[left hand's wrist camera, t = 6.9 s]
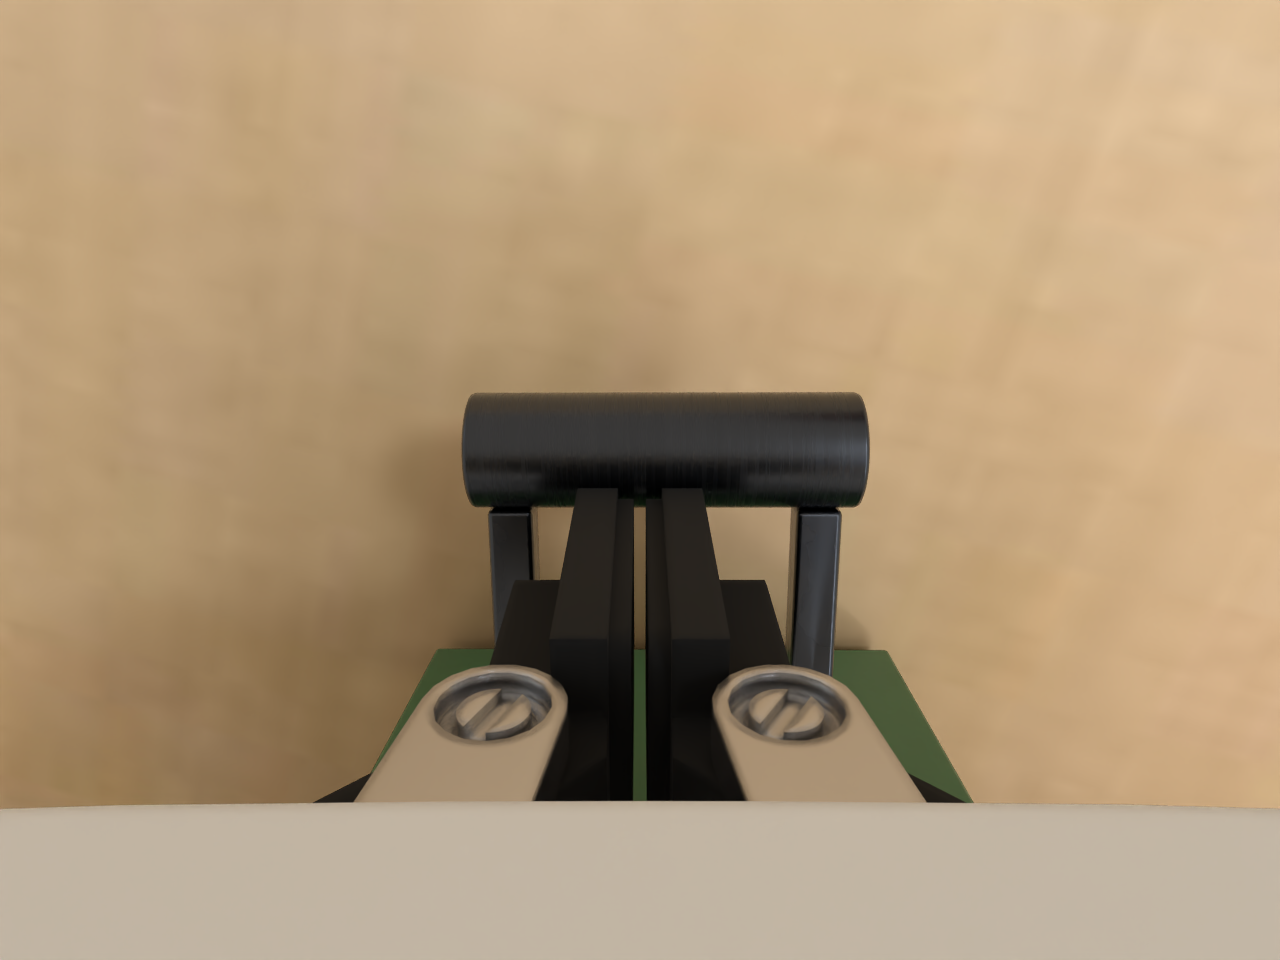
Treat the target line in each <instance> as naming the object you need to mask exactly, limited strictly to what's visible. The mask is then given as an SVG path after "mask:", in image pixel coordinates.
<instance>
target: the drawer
mask: <svg viewBox="0 0 1280 960" xmlns="http://www.w3.org/2000/svg"><path fill="white" fill-rule="evenodd" d="M869 459H870V437H869V425H868V418H867V412H866V408H865V405H864V402H863V400H862V398H861V396H860V395H859V394H857V393H854V392H793V393H475V394H473V395H471V396H470V398H469V399H468V402H467V405H466V409H465V413H464V419H463V428H462V469H463V478H464V485H465V489H466V493H467V496H468V499H469V501H470V503H471V505H473V506H475V507H492V508H491V510H490V511H489V514H488V526H489V545H490V565H491V585H492V605H493V625H494V644H496V641H497V638H498V634H499V631H500V627H501V624H502V621H503V617H504V614H505V610H506V607H507V604H508V600H509V597H510V594H511V590H512V587H513V584H514V582H515V580H540V570H539V542H538V514H537V507H574V504H575V499H576V494H577V489H578V488H618V499H634V507H646V499H661V497H662V488H702V490H703V496H704V501H705V506H706V507H791V527H790V551H789V575H788V599H787V624H786V648H785V649H786V652H787V656H788V659H789V662H790V665H791V666H797V667H803V668H809V669H812V670H815V671H817V672H820V673H823V674H826V675H829V676H831V677H832V678H834V679H835V680H837V681H839V682H840V683H842V684H844V685H845V686H847V687H848V688H849V690H850V691H851V692H852V693H853V694H854V695H855V696H856V697H857V698H858V699H859V701H860V702H861V704H862V705H863V707H864V708H865V710H866V711H867V713H868V714H869V716H870V718H871V719H872V721H873V722H874V724H875V725H876V727H877V728H878V730H879V731H880V733H881V734H882V736H883V737H884V739H885V740H886V742H887V743H888V745H889V746H890V748H891V749H892V751H893V752H894V754H895V755H896V757H897V758H898V760H899V761H900V763H901V764H902V766H903V767H904V769H905V770H906V772H907V773H909V774H911V775H913V776H915V777H917V778H919V779H921V780H923V781H925V782H927V783H929V784H931V785H933V786H935V787H937V788H939V789H941V790H943V791H945V792H947V793H949V794H950V795H952V796H954V797H956V798H958V799H960V800H962V801H964V802H966V803H973V801H972V799H971V797H970V796H969V794H968V792H967V790H966V789H965V787H964V785H963V783H962V782H961V780H960V778H959V776H958V775H957V773H956V771H955V769H954V768H953V766H952V764H951V762H950V761H949V759H948V757H947V755H946V754H945V752H944V750H943V748H942V747H941V745H940V743H939V741H938V740H937V738H936V736H935V734H934V732H933V731H932V729H931V727H930V725H929V724H928V722H927V720H926V718H925V717H924V715H923V713H922V711H921V710H920V708H919V706H918V704H917V703H916V701H915V699H914V697H913V696H912V694H911V692H910V690H909V689H908V687H907V685H906V683H905V682H904V680H903V678H902V676H901V675H900V673H899V671H898V669H897V668H896V666H895V664H894V662H893V661H892V659H891V657H890V655H889V654H888V652H887V651H885V650H834V645H835V627H836V610H837V592H838V574H839V557H840V539H841V522H842V514H841V512H840V510H839V509H838V507H856V506H858V505H859V504H860V503H861V501H862V498H863V496H864V493H865V489H866V485H867V479H868V472H869ZM493 651H494V649H438V650H437V651H436V652H435V654H434V656H433V658H432V660H431V662H430V664H429V665H428V667H427V669H426V671H425V673H424V675H423V677H422V678H421V680H420V682H419V684H418V686H417V688H416V690H415V691H414V693H413V695H412V697H411V699H410V701H409V703H408V704H407V706H406V708H405V710H404V712H403V714H402V716H401V718H400V719H399V721H398V723H397V725H396V727H395V729H394V731H393V732H392V734H391V736H390V738H389V740H388V742H387V744H386V745H385V747H384V749H383V751H382V753H381V755H380V757H379V758H378V760H377V762H376V764H375V766H374V768H373V770H372V771H371V773H372V772H374V770H375V769H376V767H377V766H378V764H379V763H380V761H381V760H382V758H383V757H384V755H385V754H386V752H387V751H388V749H389V748H390V746H391V745H392V743H393V742H394V740H395V739H396V737H397V736H398V734H399V733H400V731H401V730H402V728H403V727H404V725H405V724H406V722H407V721H408V719H409V718H410V716H411V714H412V713H413V711H414V710H415V708H416V707H417V705H418V704H419V702H420V701H421V699H422V698H423V697H424V696H425V695H426V694H427V693H428V692H429V691H430V690H431V688H432V687H433V686H435V685H436V684H438V683H440V682H441V681H443V680H445V679H446V678H448V677H449V676H451V675H454V674H457V673H460V672H463V671H465V670H468V669H471V668H477V667H483V666H489V665H490V661H491V658H492V654H493ZM645 652H646V649H634V760H633V801H647V788H646V697H645Z"/></svg>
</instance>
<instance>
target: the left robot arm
mask: <svg viewBox="0 0 1280 960" xmlns="http://www.w3.org/2000/svg"><path fill="white" fill-rule="evenodd" d="M645 697H646V788H647V801H633V760H634V499H618V488H578V489H577V494H576V499H575V504H574V510H573V515H572V520H571V526H570V531H569V536H568V542H567V547H566V552H565V558H564V563H563V568H562V574H561V579H560V580H515V582H514V584H513V587H512V590H511V594H510V597H509V600H508V604H507V607H506V610H505V614H504V617H503V621H502V624H501V627H500V631H499V634H498V638H497V641H496V644H495V648H494V651H493V654H492V658H491V661H490V665H489V666H483V667H477V668H471V669H468V670H465V671H463V672H460V673H457V674H454V675H451V676H449V677H448V678H446V679H445V680H443V681H441V682H440V683H438V684H436V685H435V686H433V687H432V688H431V690H430V691H429V692H428V693H427V694H426V695H425V696H424V697H423V698H422V699H421V701H420V702H419V704H418V705H417V707H416V708H415V710H414V711H413V713H412V714H411V716H410V718H409V719H408V721H407V722H406V724H405V725H404V727H403V728H402V730H401V731H400V733H399V734H398V736H397V737H396V739H395V740H394V742H393V743H392V745H391V746H390V748H389V749H388V751H387V752H386V754H385V755H384V757H383V758H382V760H381V761H380V763H379V764H378V766H377V767H376V769H375V770H374V772H372V773H370V774H368V775H366V776H365V777H363V778H361V779H359V780H357V781H355V782H353V783H351V784H349V785H347V786H345V787H343V788H341V789H339V790H337V791H335V792H333V793H331V794H329V795H327V796H325V797H323V798H321V799H319V800H317V801H315V802H313V803H272V804H180V805H110V806H78V807H46V808H15V809H0V960H1280V809H1270V808H1234V807H1197V806H1160V805H1124V804H1012V803H966V802H964V801H962V800H960V799H958V798H956V797H954V796H952V795H950V794H949V793H947V792H945V791H943V790H941V789H939V788H937V787H935V786H933V785H931V784H929V783H927V782H925V781H923V780H921V779H919V778H917V777H915V776H913V775H911V774H909V773H907V772H906V770H905V769H904V767H903V766H902V764H901V763H900V761H899V760H898V758H897V757H896V755H895V754H894V752H893V751H892V749H891V748H890V746H889V745H888V743H887V742H886V740H885V739H884V737H883V736H882V734H881V733H880V731H879V730H878V728H877V727H876V725H875V724H874V722H873V721H872V719H871V718H870V716H869V714H868V713H867V711H866V710H865V708H864V707H863V705H862V704H861V702H860V701H859V699H858V698H857V697H856V696H855V695H854V694H853V693H852V692H851V691H850V690H849V688H848V687H847V686H845V685H844V684H842V683H840V682H839V681H837V680H835V679H834V678H832V677H831V676H829V675H826V674H823V673H820V672H817V671H815V670H812V669H809V668H803V667H797V666H791V665H790V662H789V659H788V656H787V652H786V649H785V645H784V642H783V639H782V635H781V632H780V628H779V625H778V622H777V618H776V615H775V612H774V608H773V605H772V601H771V598H770V595H769V591H768V588H767V585H766V582H765V580H719V575H718V570H717V565H716V559H715V554H714V549H713V543H712V538H711V533H710V528H709V522H708V517H707V512H706V506H705V501H704V496H703V490H702V488H662V497H661V499H646V652H645Z"/></svg>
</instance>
